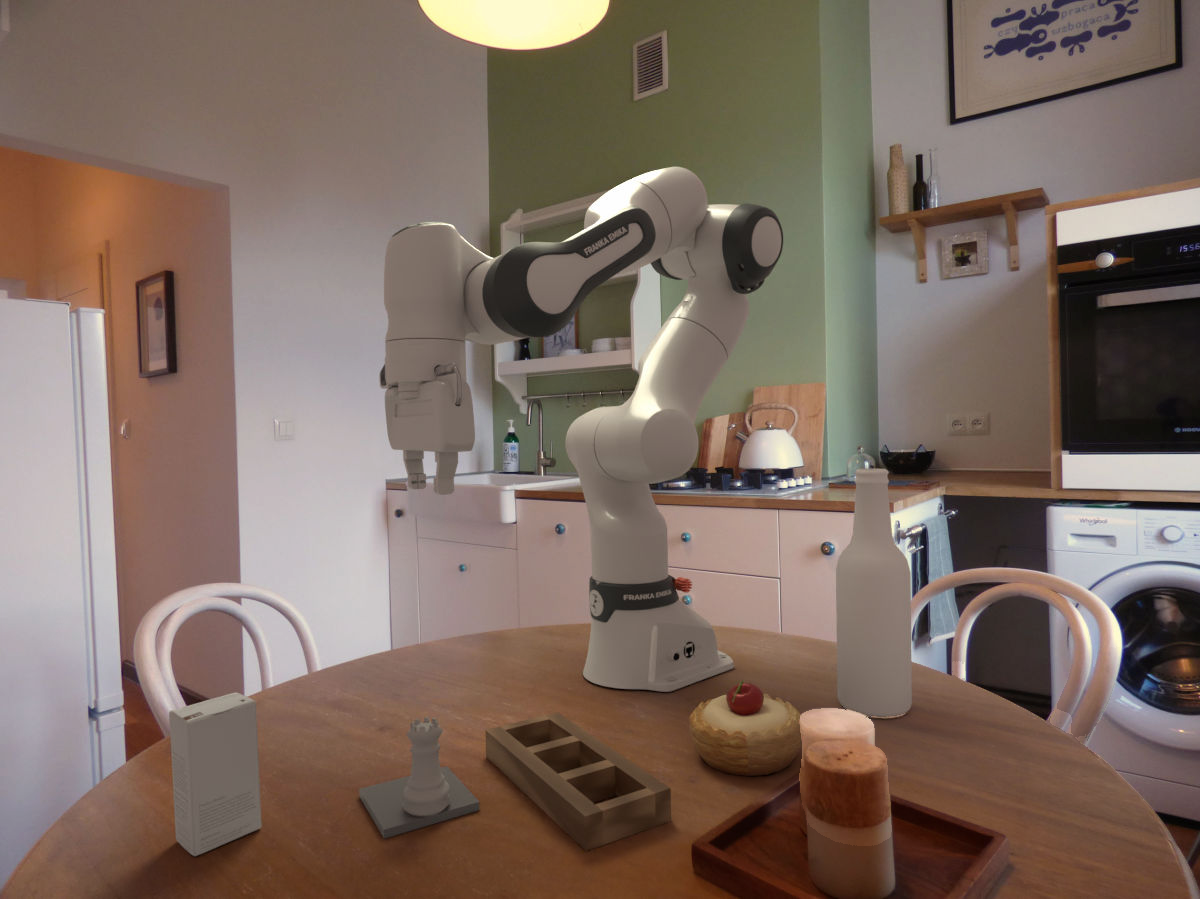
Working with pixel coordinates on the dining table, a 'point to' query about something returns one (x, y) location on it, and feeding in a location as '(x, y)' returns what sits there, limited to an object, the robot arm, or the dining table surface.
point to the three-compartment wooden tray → (578, 779)
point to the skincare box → (215, 772)
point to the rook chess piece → (425, 772)
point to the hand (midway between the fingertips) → (430, 491)
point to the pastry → (746, 731)
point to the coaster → (395, 820)
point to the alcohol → (873, 608)
